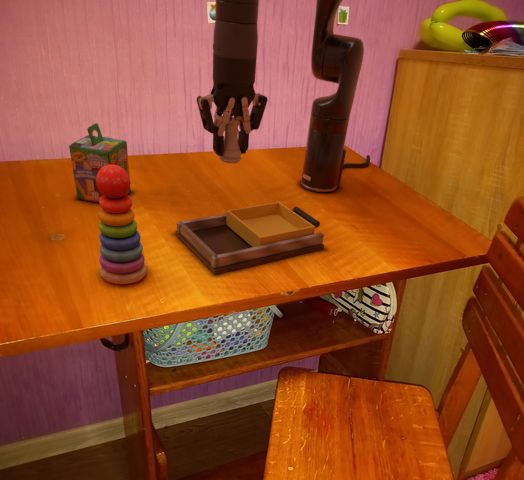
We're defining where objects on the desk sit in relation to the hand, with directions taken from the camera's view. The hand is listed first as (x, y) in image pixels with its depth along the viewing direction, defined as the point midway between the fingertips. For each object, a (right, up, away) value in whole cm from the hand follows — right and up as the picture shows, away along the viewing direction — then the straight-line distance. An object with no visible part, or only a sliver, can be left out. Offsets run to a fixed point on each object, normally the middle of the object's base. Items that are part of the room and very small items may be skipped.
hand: (230, 153), depth 95 cm
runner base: (+4, -16, +4) cm, 17 cm away
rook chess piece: (0, -1, +1) cm, 1 cm away
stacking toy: (-18, -25, -9) cm, 32 cm away
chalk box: (-29, -3, +16) cm, 34 cm away
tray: (+9, -14, +6) cm, 17 cm away
